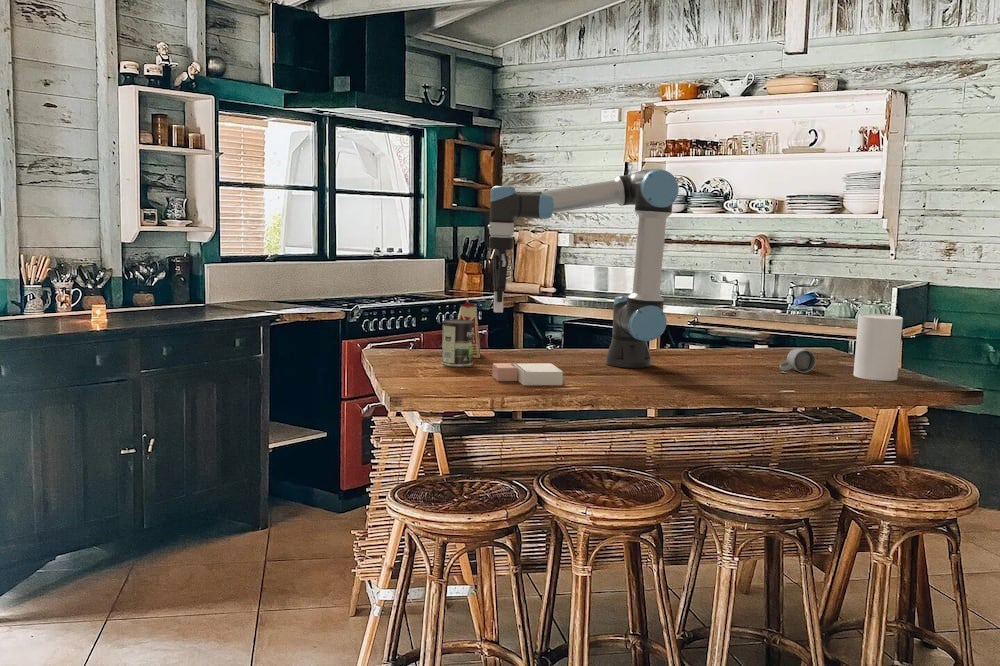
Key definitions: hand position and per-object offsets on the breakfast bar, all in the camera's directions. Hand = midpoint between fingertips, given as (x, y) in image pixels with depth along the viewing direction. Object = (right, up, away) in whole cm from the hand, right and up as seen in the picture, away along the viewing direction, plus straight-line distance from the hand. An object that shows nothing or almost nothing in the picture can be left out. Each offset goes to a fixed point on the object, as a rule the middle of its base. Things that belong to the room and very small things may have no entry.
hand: (498, 312), depth 307 cm
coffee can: (-13, -17, +14) cm, 26 cm away
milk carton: (-11, -14, +32) cm, 37 cm away
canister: (+124, -21, +16) cm, 127 cm away
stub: (+2, -20, -9) cm, 22 cm away
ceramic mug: (+100, -19, +22) cm, 104 cm away
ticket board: (+12, -21, -10) cm, 26 cm away
